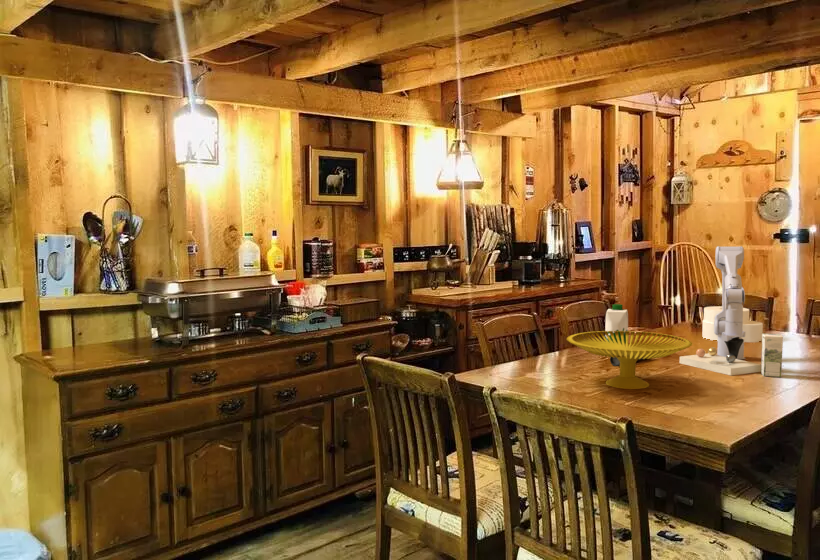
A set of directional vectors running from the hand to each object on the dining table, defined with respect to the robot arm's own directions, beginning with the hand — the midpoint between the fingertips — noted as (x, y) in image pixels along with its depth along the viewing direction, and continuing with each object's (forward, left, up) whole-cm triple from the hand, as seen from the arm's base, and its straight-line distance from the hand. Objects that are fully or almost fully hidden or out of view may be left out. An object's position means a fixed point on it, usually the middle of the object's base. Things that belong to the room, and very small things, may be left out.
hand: (733, 358), depth 256 cm
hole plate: (+2, -4, -4) cm, 6 cm away
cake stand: (+50, +2, -4) cm, 51 cm away
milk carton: (+18, -42, -4) cm, 46 cm away
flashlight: (+25, -26, -4) cm, 36 cm away
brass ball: (-3, -12, 0) cm, 12 cm away
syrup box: (-3, +14, -4) cm, 15 cm away
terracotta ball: (+3, -12, 0) cm, 13 cm away
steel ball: (+1, 0, 0) cm, 1 cm away
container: (-51, -47, -4) cm, 70 cm away
